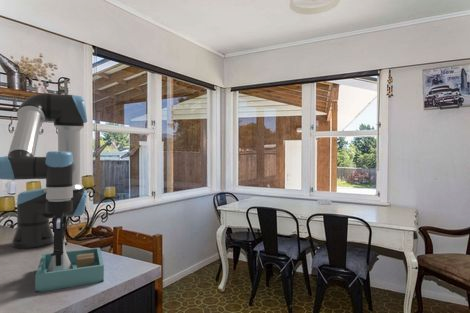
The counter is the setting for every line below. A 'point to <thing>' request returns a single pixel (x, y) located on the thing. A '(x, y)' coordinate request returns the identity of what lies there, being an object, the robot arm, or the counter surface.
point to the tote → (69, 272)
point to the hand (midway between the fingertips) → (59, 270)
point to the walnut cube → (85, 260)
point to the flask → (66, 261)
